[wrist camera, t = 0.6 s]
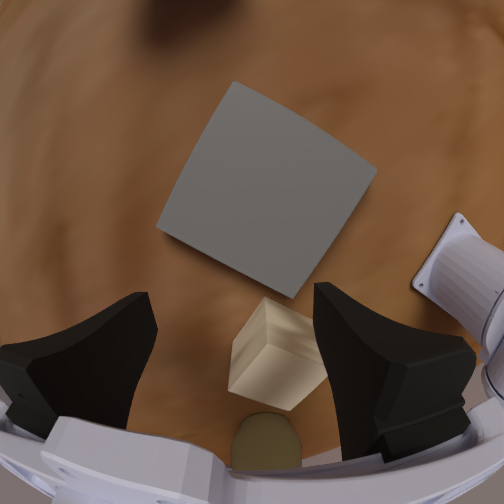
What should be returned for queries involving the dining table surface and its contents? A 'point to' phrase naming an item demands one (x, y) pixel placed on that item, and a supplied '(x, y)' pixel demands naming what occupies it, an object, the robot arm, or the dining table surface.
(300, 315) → the birch cube
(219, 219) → the charcoal base
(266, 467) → the squeeze bottle
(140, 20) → the dining table surface
